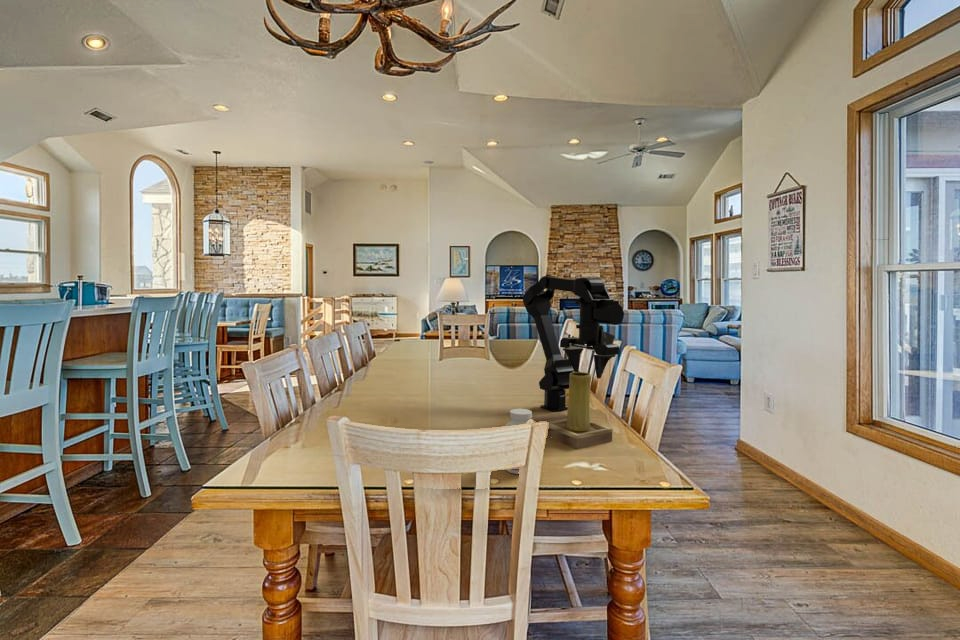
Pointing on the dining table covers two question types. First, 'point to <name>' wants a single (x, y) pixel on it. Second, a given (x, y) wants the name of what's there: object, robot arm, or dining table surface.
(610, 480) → the dining table surface
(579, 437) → the wooden tray
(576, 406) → the vase
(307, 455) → the dining table surface
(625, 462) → the dining table surface
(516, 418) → the supplement bottle
